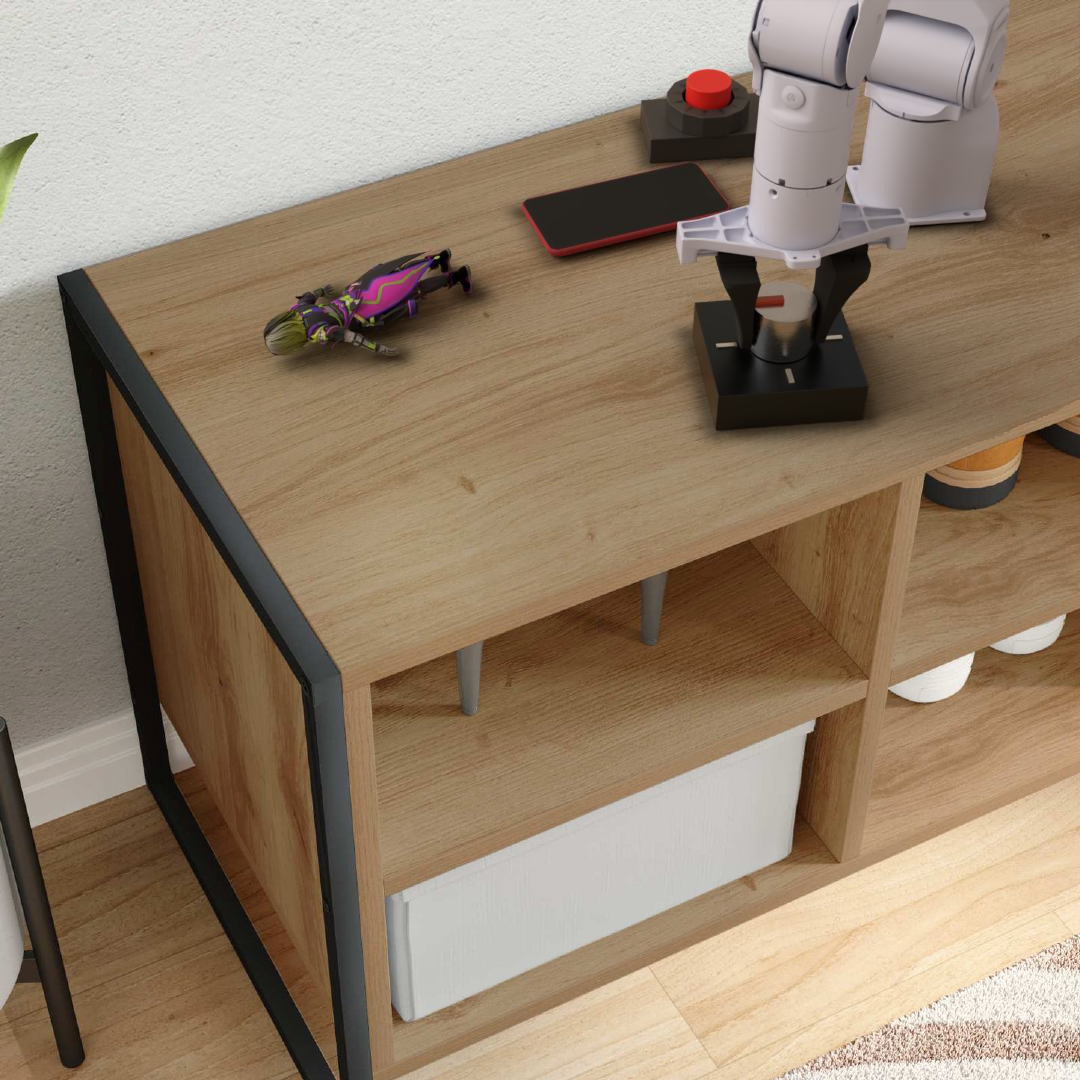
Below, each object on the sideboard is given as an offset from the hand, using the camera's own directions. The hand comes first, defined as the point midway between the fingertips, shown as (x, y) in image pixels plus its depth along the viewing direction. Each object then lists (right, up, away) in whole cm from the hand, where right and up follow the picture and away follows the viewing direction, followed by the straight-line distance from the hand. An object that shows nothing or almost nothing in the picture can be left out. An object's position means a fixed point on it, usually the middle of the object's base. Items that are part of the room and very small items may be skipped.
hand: (779, 336), depth 106 cm
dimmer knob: (0, 0, 0) cm, 0 cm away
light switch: (-3, +19, +23) cm, 30 cm away
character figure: (-29, +2, +7) cm, 30 cm away
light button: (-3, +22, +21) cm, 30 cm away
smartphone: (-10, +11, +16) cm, 22 cm away
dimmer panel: (0, -2, +3) cm, 3 cm away
